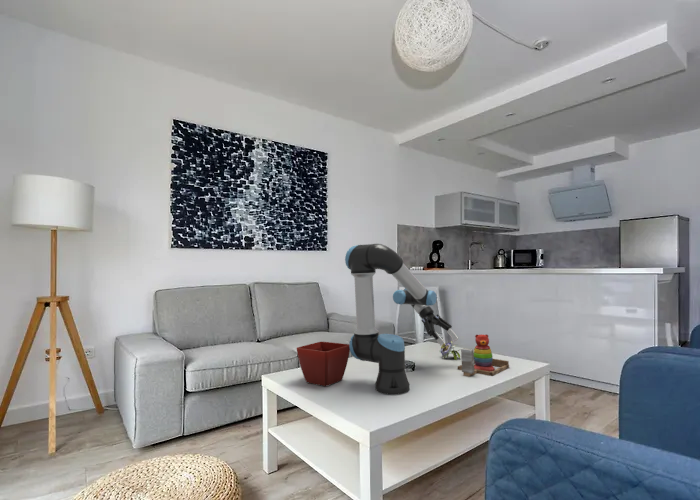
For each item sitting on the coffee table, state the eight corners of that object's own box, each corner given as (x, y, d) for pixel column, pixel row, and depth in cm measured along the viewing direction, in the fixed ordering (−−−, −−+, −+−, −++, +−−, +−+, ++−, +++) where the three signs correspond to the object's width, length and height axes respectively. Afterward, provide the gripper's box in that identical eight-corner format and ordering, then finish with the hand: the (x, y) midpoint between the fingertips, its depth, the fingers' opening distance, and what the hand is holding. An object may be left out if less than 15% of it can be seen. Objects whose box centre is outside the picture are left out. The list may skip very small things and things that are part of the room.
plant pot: (321, 373, 192) (321, 340, 193) (352, 379, 181) (351, 344, 182) (296, 383, 177) (295, 347, 178) (327, 390, 166) (326, 351, 167)
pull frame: (484, 379, 174) (483, 352, 175) (449, 372, 187) (448, 347, 188) (509, 367, 194) (508, 343, 195) (475, 362, 207) (474, 339, 208)
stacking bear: (472, 371, 190) (471, 335, 191) (472, 366, 200) (470, 332, 201) (495, 372, 187) (493, 336, 188) (493, 367, 197) (492, 333, 198)
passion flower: (444, 368, 217) (434, 349, 223) (458, 362, 222) (447, 344, 228) (453, 360, 209) (442, 341, 214) (468, 354, 213) (456, 336, 219)
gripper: (432, 312, 212) (457, 342, 201) (406, 317, 195) (432, 350, 183) (440, 303, 209) (466, 333, 197) (414, 307, 191) (441, 340, 180)
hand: (449, 341), depth 190 cm, fingers open, 13 cm apart
